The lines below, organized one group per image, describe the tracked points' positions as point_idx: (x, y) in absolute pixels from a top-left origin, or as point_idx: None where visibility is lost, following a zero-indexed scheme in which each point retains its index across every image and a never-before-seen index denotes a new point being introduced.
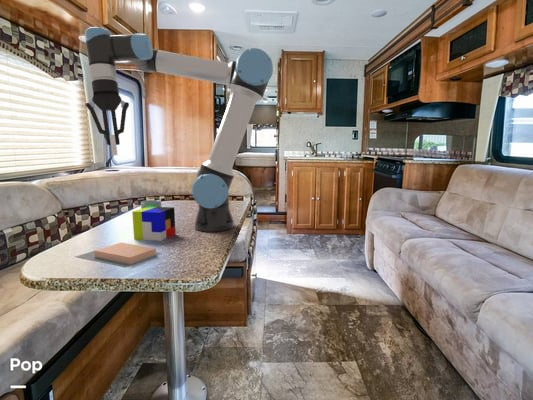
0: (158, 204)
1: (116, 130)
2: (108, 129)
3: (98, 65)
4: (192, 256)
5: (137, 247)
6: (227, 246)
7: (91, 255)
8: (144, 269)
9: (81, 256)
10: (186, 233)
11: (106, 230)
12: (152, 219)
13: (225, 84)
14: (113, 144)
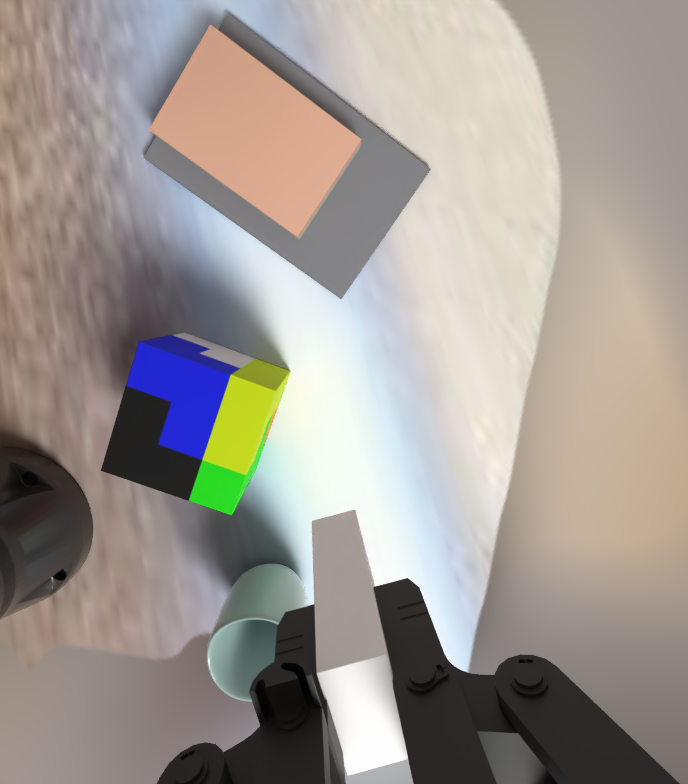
0: (216, 625)
1: (279, 750)
2: (410, 738)
3: None
4: (37, 122)
5: (218, 152)
6: None
7: (379, 174)
8: (168, 5)
9: (408, 167)
10: None
11: (437, 544)
12: (188, 351)
13: None
14: (339, 573)
